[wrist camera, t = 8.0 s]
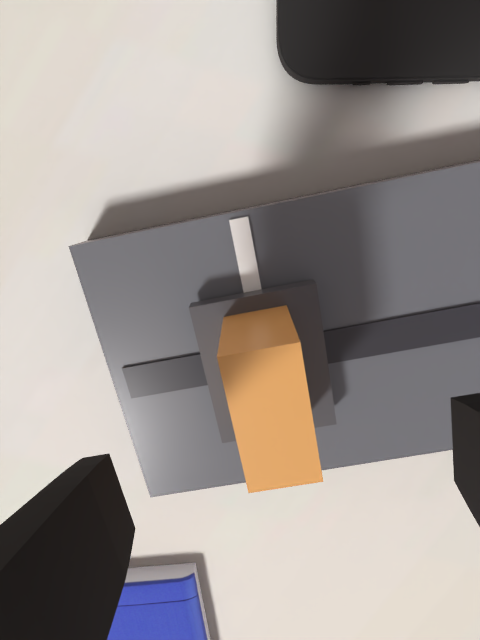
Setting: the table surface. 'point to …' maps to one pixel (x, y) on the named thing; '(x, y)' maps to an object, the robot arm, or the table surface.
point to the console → (335, 306)
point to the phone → (379, 41)
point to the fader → (268, 379)
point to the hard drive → (161, 605)
